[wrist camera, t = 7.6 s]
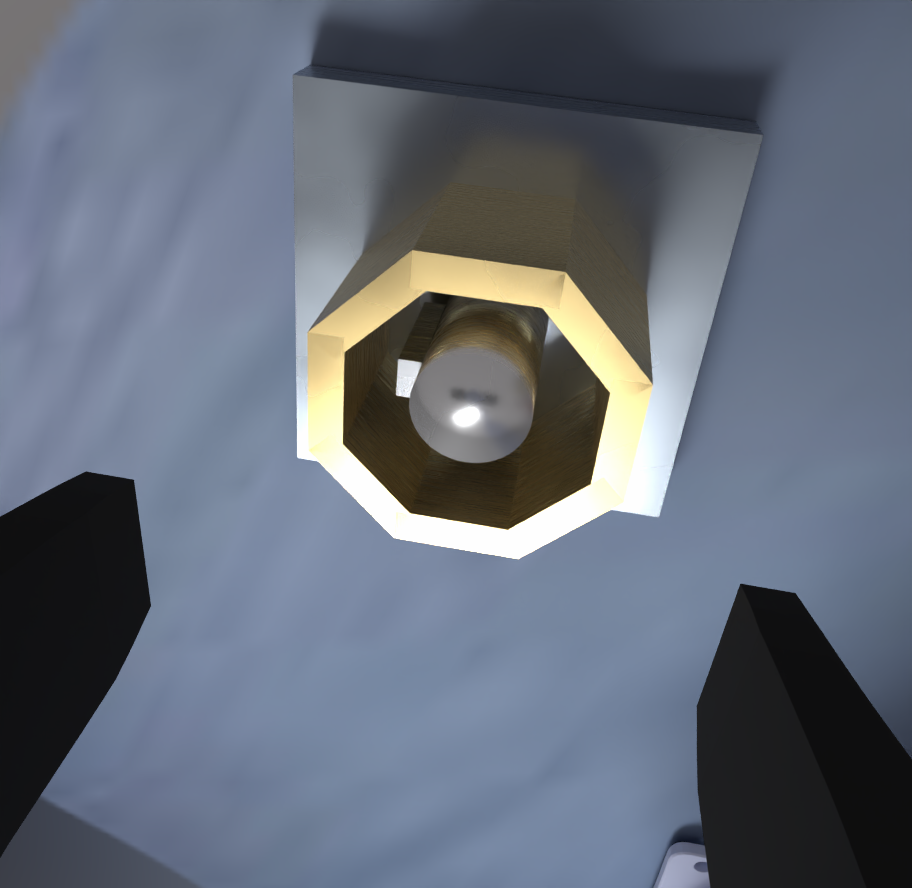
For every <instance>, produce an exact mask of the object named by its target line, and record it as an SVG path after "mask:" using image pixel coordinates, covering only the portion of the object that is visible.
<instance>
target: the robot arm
mask: <svg viewBox="0 0 912 888" xmlns="http://www.w3.org/2000/svg"><path fill="white" fill-rule="evenodd" d="M150 607H151V602H150V595H149V588H148V580H147V573H146V566H145V558H144V551H143V543H142V536H141V529H140V521H139V514H138V507H137V499H136V492H135V485H134V480H132V479H126V478H120V477H115V476H109V475H103V474H97V473H91V472H84V473H82V474H80V475H78V476H76V477H74V478H72V479H70V480H68V481H66V482H64V483H62V484H60V485H58V486H56V487H54V488H52V489H50V490H48V491H46V492H45V493H43V494H41V495H39V496H37V497H35V498H34V499H32V500H30V501H28V502H26V503H24V504H23V505H21V506H19V507H17V508H15V509H14V510H12V511H10V512H8V513H6V514H4V515H3V516H1V517H0V857H1V856H2V854H3V852H4V850H5V849H6V847H7V845H8V844H9V842H10V841H11V839H12V838H13V836H14V835H15V833H16V832H17V830H18V829H19V827H20V826H21V824H22V823H23V821H24V819H25V818H26V816H27V815H28V813H29V812H30V810H31V809H32V807H33V806H34V804H35V803H36V801H37V800H38V798H39V797H40V795H41V794H42V792H43V791H44V789H45V788H46V786H47V785H48V783H49V782H50V780H51V778H52V777H53V775H54V774H55V772H56V771H57V769H58V768H59V766H60V765H61V763H62V762H63V760H64V759H65V757H66V756H67V754H68V753H69V751H70V750H71V748H72V747H73V745H74V744H75V742H76V740H77V739H78V737H79V736H80V734H81V733H82V731H83V730H84V728H85V727H86V725H87V723H88V722H89V720H90V719H91V717H92V716H93V714H94V713H95V711H96V710H97V708H98V706H99V705H100V703H101V702H102V700H103V699H104V697H105V696H106V694H107V692H108V691H109V689H110V688H111V686H112V684H113V683H114V681H115V680H116V678H117V676H118V674H119V672H120V670H121V668H122V666H123V664H124V662H125V660H126V658H127V656H128V654H129V652H130V650H131V648H132V646H133V644H134V642H135V639H136V637H137V635H138V633H139V631H140V628H141V626H142V624H143V622H144V620H145V618H146V615H147V613H148V611H149V609H150ZM697 778H698V796H699V805H700V813H701V821H702V829H703V836H704V844H705V845H699V844H694V843H689V842H679V843H676V844H674V845H672V846H671V847H670V848H669V849H668V851H667V854H666V857H665V859H664V862H663V864H662V867H661V870H660V872H659V875H658V878H657V880H656V883H655V885H654V888H912V759H911V757H910V756H909V755H908V753H907V752H906V751H905V749H904V748H903V747H902V745H901V744H900V743H899V741H898V740H897V738H896V737H895V736H894V734H893V733H892V732H891V730H890V729H889V728H888V726H887V725H886V723H885V722H884V721H883V719H882V718H881V717H880V715H879V714H878V712H877V711H876V710H875V708H874V707H873V705H872V704H871V703H870V701H869V700H868V698H867V697H866V695H865V694H864V693H863V691H862V690H861V688H860V687H859V685H858V684H857V682H856V681H855V680H854V678H853V677H852V675H851V674H850V672H849V671H848V669H847V668H846V667H845V665H844V664H843V662H842V661H841V659H840V658H839V656H838V655H837V653H836V652H835V650H834V649H833V647H832V646H831V644H830V643H829V642H828V640H827V639H826V637H825V636H824V634H823V633H822V631H821V630H820V628H819V627H818V625H817V624H816V622H815V621H814V619H813V618H812V617H811V615H810V614H809V612H808V611H807V609H806V608H805V606H804V605H803V603H802V602H801V601H800V599H799V598H798V596H797V595H796V593H791V592H786V591H780V590H774V589H768V588H762V587H756V586H751V585H745V584H740V587H739V589H738V592H737V595H736V598H735V601H734V603H733V606H732V609H731V612H730V615H729V617H728V620H727V623H726V626H725V629H724V631H723V634H722V637H721V640H720V643H719V646H718V648H717V651H716V654H715V657H714V660H713V662H712V665H711V668H710V671H709V674H708V676H707V679H706V682H705V685H704V688H703V691H702V693H701V696H700V699H699V702H698V705H697Z"/></svg>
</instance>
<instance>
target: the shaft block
mask: <svg viewBox="0 0 912 888" xmlns="http://www.w3.org/2000/svg"><path fill="white" fill-rule="evenodd" d="M293 134H294V215H295V296H296V377H297V457H298V458H303V459H309V460H315V461H318V460H317V459H316V458H315V457H314V456H313V455H312V454H311V453H310V452H309V451H308V350H307V332H308V331H309V329H310V328H311V326H312V325H313V324H314V322H315V321H316V319H317V318H318V316H319V315H320V313H321V312H322V311H323V309H324V308H325V306H326V305H327V303H328V302H329V301H330V299H331V298H332V296H333V295H334V293H335V292H336V290H337V289H338V288H339V286H340V285H341V283H342V282H343V280H344V279H345V278H346V276H347V275H348V273H349V272H350V270H351V269H352V267H353V266H354V265H355V263H356V262H357V260H358V259H359V257H360V256H361V255H362V254H363V253H364V252H365V251H366V250H368V249H369V248H370V247H371V246H372V245H374V244H375V243H376V242H377V241H379V240H380V239H381V238H382V237H384V236H385V235H386V234H387V233H389V232H390V231H391V230H392V229H394V228H395V227H396V226H397V225H398V224H400V223H401V222H402V221H403V220H405V219H406V218H407V217H408V216H410V215H411V214H412V213H413V212H415V211H416V210H417V209H418V208H420V207H421V206H422V205H423V204H425V203H426V202H427V201H428V200H429V199H431V198H432V197H433V196H434V195H436V194H437V193H438V192H439V191H441V190H442V189H443V188H444V187H446V186H447V185H448V184H449V183H451V182H453V183H460V184H468V185H475V186H482V187H490V188H497V189H505V190H512V191H519V192H527V193H534V194H541V195H549V196H556V197H564V198H571V199H576V200H577V202H578V203H579V204H580V206H581V207H582V209H583V210H584V211H585V213H586V214H587V215H588V217H589V218H590V219H591V221H592V222H593V223H594V225H595V226H596V227H597V229H598V230H599V231H600V233H601V234H602V235H603V237H604V238H605V239H606V241H607V242H608V244H609V245H610V246H611V248H612V249H613V250H614V252H615V253H616V254H617V256H618V257H619V258H620V260H621V261H622V262H623V264H624V265H625V266H626V268H627V269H628V270H629V272H630V273H631V274H632V276H633V277H634V279H635V280H636V281H637V283H638V284H639V285H640V287H641V288H642V289H643V291H644V292H645V293H646V295H647V306H648V320H649V334H650V348H651V363H652V377H653V387H652V391H651V395H650V399H649V403H648V408H647V412H646V416H645V420H644V424H643V428H642V432H641V436H640V440H639V445H638V449H637V453H636V457H635V461H634V465H633V469H632V473H631V477H630V482H629V486H628V490H627V494H626V498H625V502H624V503H622V504H620V505H618V506H617V507H615V508H613V509H612V510H618V511H624V512H630V513H636V514H642V515H648V516H654V517H659V514H660V511H661V507H662V503H663V500H664V496H665V492H666V489H667V485H668V481H669V478H670V474H671V470H672V467H673V463H674V459H675V456H676V452H677V449H678V445H679V441H680V438H681V434H682V430H683V427H684V423H685V419H686V416H687V412H688V408H689V405H690V401H691V397H692V394H693V390H694V387H695V383H696V379H697V376H698V372H699V368H700V365H701V361H702V357H703V354H704V350H705V346H706V343H707V339H708V335H709V332H710V328H711V325H712V321H713V317H714V314H715V310H716V306H717V303H718V299H719V295H720V292H721V288H722V284H723V281H724V277H725V273H726V270H727V266H728V263H729V259H730V255H731V252H732V248H733V244H734V241H735V237H736V233H737V230H738V226H739V222H740V219H741V215H742V211H743V208H744V204H745V201H746V197H747V193H748V190H749V186H750V182H751V179H752V175H753V171H754V168H755V164H756V160H757V157H758V153H759V149H760V146H761V142H762V139H763V134H762V132H761V130H760V128H759V127H758V125H757V123H756V122H755V121H748V120H740V119H732V118H724V117H716V116H708V115H700V114H692V113H685V112H677V111H669V110H661V109H653V108H645V107H637V106H630V105H622V104H614V103H606V102H598V101H590V100H582V99H574V98H567V97H559V96H551V95H543V94H535V93H527V92H519V91H511V90H504V89H496V88H488V87H480V86H472V85H464V84H456V83H449V82H441V81H433V80H425V79H417V78H409V77H401V76H393V75H386V74H378V73H370V72H362V71H354V70H346V69H338V68H330V67H323V66H315V65H309V66H307V67H305V68H304V69H302V70H300V71H298V72H297V73H295V74H293ZM388 352H389V354H390V355H391V356H392V357H393V358H394V359H395V360H396V361H397V362H398V371H397V388H396V396H403V397H409V398H410V399H409V410H410V416H411V419H412V422H413V424H414V427H415V429H416V430H417V432H418V433H419V435H420V436H421V437H422V439H423V440H424V441H425V442H426V443H427V444H428V445H429V446H430V447H432V448H433V449H434V450H436V451H437V452H439V453H440V454H442V455H444V456H446V457H449V458H451V459H454V460H457V461H462V462H469V463H483V462H490V461H494V460H497V459H500V458H503V457H504V456H506V455H508V454H510V453H511V452H513V451H514V450H515V449H516V448H518V447H519V446H520V445H521V443H522V442H523V441H524V440H525V438H526V436H527V435H528V433H529V430H530V428H531V424H532V422H534V421H535V420H537V419H538V418H540V417H542V416H543V415H545V414H547V413H548V412H550V411H552V410H553V409H555V408H556V407H558V406H560V405H561V404H563V403H565V402H566V401H568V400H569V399H571V398H573V397H574V396H576V395H578V394H579V393H581V392H583V391H584V390H586V389H587V388H589V387H591V386H592V385H594V384H596V379H597V376H596V374H595V373H594V372H593V371H592V369H591V368H590V367H589V366H588V364H587V363H586V362H585V361H584V359H583V358H582V357H581V356H580V354H579V353H578V352H577V351H576V349H575V348H574V347H573V346H572V344H571V343H570V342H569V341H568V339H567V338H566V337H565V336H564V334H563V333H562V332H561V331H560V329H559V328H558V327H557V326H556V324H555V323H554V322H553V321H552V319H551V318H550V317H549V316H548V314H547V313H546V312H545V311H544V309H543V308H539V307H533V306H526V305H519V304H512V303H505V302H498V301H492V300H485V299H478V298H471V297H464V296H457V295H451V294H444V293H437V292H430V291H426V292H424V293H423V294H422V295H420V296H419V297H418V298H416V299H415V300H414V301H412V302H411V303H410V304H408V305H407V306H406V307H404V308H403V309H402V310H400V311H399V312H398V313H396V314H395V315H394V316H392V317H391V318H390V323H389V342H388Z"/></svg>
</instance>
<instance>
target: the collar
mask: <svg viewBox="0 0 912 888" xmlns="http://www.w3.org/2000/svg"><path fill="white" fill-rule="evenodd" d="M426 291H430V292H437V293H444V294H451V295H457V296H464V297H471V298H478V299H485V300H492V301H498V302H505V303H512V304H519V305H526V306H533V307H539V308H543V309H544V311H545V312H546V313H547V314H548V316H549V317H550V318H551V319H552V321H553V322H554V323H555V324H556V326H557V327H558V328H559V329H560V331H561V332H562V333H563V334H564V336H565V337H566V338H567V339H568V341H569V342H570V343H571V344H572V346H573V347H574V348H575V349H576V351H577V352H578V353H579V354H580V356H581V357H582V358H583V359H584V361H585V362H586V363H587V364H588V366H589V367H590V368H591V369H592V371H593V372H594V373H595V374H596V376H597V379H596V384H594V385H592V386H591V387H589V388H587V389H586V390H584V391H583V392H581V393H579V394H578V395H576V396H574V397H573V398H571V399H569V400H568V401H566V402H565V403H563V404H561V405H560V406H558V407H556V408H555V409H553V410H552V411H550V412H548V413H547V414H545V415H543V416H542V417H540V418H538V419H537V420H535V421H534V422H532V424H531V428H530V430H529V433H528V435H527V436H526V438H525V440H524V441H523V442H522V443H521V445H520V446H519V447H518V448H516V449H515V450H514V451H513V452H511V453H510V454H508V455H506V456H504V457H503V458H500V459H497V460H494V461H490V462H483V463H469V462H462V461H457V460H454V459H451V458H449V457H446V456H444V455H442V454H440V453H439V452H437V451H436V450H434V449H433V448H432V447H430V446H429V445H428V444H427V443H426V442H425V441H424V440H423V439H422V437H421V436H420V435H419V433H418V432H417V430H416V429H415V427H414V424H413V422H412V419H411V416H410V410H409V399H410V398H409V397H403V396H396V388H397V371H398V362H397V361H396V360H395V359H394V358H393V357H392V356H391V355H390V354H389V352H388V342H389V323H390V318H391V317H392V316H394V315H395V314H396V313H398V312H399V311H400V310H402V309H403V308H404V307H406V306H407V305H408V304H410V303H411V302H412V301H414V300H415V299H416V298H418V297H419V296H420V295H422V294H423V293H424V292H426ZM307 350H308V451H309V452H310V453H311V454H312V455H313V456H314V457H315V458H316V459H317V460H318V461H319V462H320V463H321V464H322V465H323V466H324V467H325V468H326V469H327V470H328V471H329V472H330V473H331V474H332V475H333V476H334V477H335V478H336V479H337V480H338V481H339V482H340V483H341V484H342V486H343V487H344V488H345V489H346V490H347V491H348V492H349V493H350V494H351V495H352V496H353V497H354V498H355V499H356V500H357V501H358V502H359V503H360V504H361V505H362V506H363V507H364V508H365V509H366V510H367V511H368V512H369V513H370V514H371V515H372V516H373V517H374V518H375V519H376V520H377V521H378V522H379V523H380V524H381V525H382V526H383V527H384V528H385V529H386V530H387V531H388V532H389V533H390V534H391V535H392V536H393V537H394V538H398V539H404V540H410V541H416V542H422V543H428V544H434V545H439V546H445V547H451V548H457V549H463V550H469V551H475V552H481V553H486V554H492V555H498V556H504V557H510V558H516V559H518V558H520V557H522V556H524V555H526V554H528V553H530V552H532V551H534V550H535V549H537V548H539V547H541V546H543V545H545V544H547V543H549V542H551V541H552V540H554V539H556V538H558V537H560V536H562V535H564V534H566V533H567V532H569V531H571V530H573V529H575V528H577V527H579V526H581V525H583V524H584V523H586V522H588V521H590V520H592V519H594V518H596V517H598V516H600V515H601V514H603V513H605V512H607V511H609V510H611V509H613V508H615V507H617V506H618V505H620V504H622V503H624V502H625V498H626V494H627V490H628V486H629V482H630V477H631V473H632V469H633V465H634V461H635V457H636V453H637V449H638V445H639V440H640V436H641V432H642V428H643V424H644V420H645V416H646V412H647V408H648V403H649V399H650V395H651V391H652V387H653V377H652V363H651V348H650V334H649V320H648V306H647V295H646V293H645V292H644V291H643V289H642V288H641V287H640V285H639V284H638V283H637V281H636V280H635V279H634V277H633V276H632V274H631V273H630V272H629V270H628V269H627V268H626V266H625V265H624V264H623V262H622V261H621V260H620V258H619V257H618V256H617V254H616V253H615V252H614V250H613V249H612V248H611V246H610V245H609V244H608V242H607V241H606V239H605V238H604V237H603V235H602V234H601V233H600V231H599V230H598V229H597V227H596V226H595V225H594V223H593V222H592V221H591V219H590V218H589V217H588V215H587V214H586V213H585V211H584V210H583V209H582V207H581V206H580V204H579V203H578V202H577V200H576V199H571V198H564V197H556V196H549V195H541V194H534V193H527V192H519V191H512V190H505V189H497V188H490V187H482V186H475V185H468V184H460V183H453V182H451V183H449V184H448V185H447V186H446V187H444V188H443V189H442V190H441V191H439V192H438V193H437V194H436V195H434V196H433V197H432V198H431V199H429V200H428V201H427V202H426V203H425V204H423V205H422V206H421V207H420V208H418V209H417V210H416V211H415V212H413V213H412V214H411V215H410V216H408V217H407V218H406V219H405V220H403V221H402V222H401V223H400V224H398V225H397V226H396V227H395V228H394V229H392V230H391V231H390V232H389V233H387V234H386V235H385V236H384V237H382V238H381V239H380V240H379V241H377V242H376V243H375V244H374V245H372V246H371V247H370V248H369V249H368V250H366V251H365V252H364V253H363V254H362V255H361V256H360V257H359V259H358V260H357V262H356V263H355V265H354V266H353V267H352V269H351V270H350V272H349V273H348V275H347V276H346V278H345V279H344V280H343V282H342V283H341V285H340V286H339V288H338V289H337V290H336V292H335V293H334V295H333V296H332V298H331V299H330V301H329V302H328V303H327V305H326V306H325V308H324V309H323V311H322V312H321V313H320V315H319V316H318V318H317V319H316V321H315V322H314V324H313V325H312V326H311V328H310V329H309V331H308V332H307Z"/></svg>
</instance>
